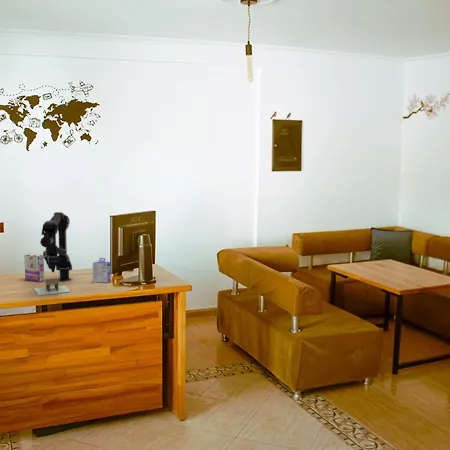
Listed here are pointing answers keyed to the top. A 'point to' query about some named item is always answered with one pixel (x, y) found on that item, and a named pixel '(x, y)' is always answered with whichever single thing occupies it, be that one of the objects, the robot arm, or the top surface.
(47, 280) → the walnut stool
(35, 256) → the candy bar box
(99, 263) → the ink cartridge box
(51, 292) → the felt mat
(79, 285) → the top surface
